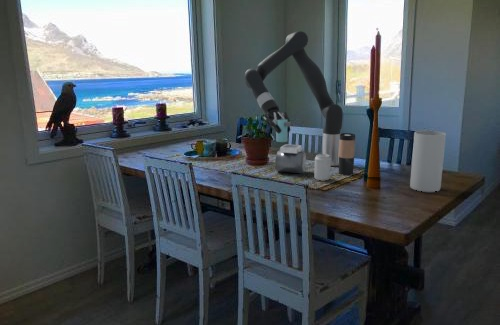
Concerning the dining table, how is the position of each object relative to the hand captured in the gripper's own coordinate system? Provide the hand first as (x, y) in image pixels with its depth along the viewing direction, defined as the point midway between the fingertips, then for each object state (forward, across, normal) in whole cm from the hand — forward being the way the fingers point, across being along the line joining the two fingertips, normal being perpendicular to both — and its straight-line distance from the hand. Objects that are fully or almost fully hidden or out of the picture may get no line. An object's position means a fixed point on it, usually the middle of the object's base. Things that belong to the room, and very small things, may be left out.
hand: (284, 131), depth 194 cm
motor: (+10, +14, +24) cm, 29 cm away
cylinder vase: (+52, +39, -18) cm, 67 cm away
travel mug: (+24, +33, +10) cm, 42 cm away
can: (+24, +16, +10) cm, 30 cm away
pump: (+3, 0, +4) cm, 5 cm away
